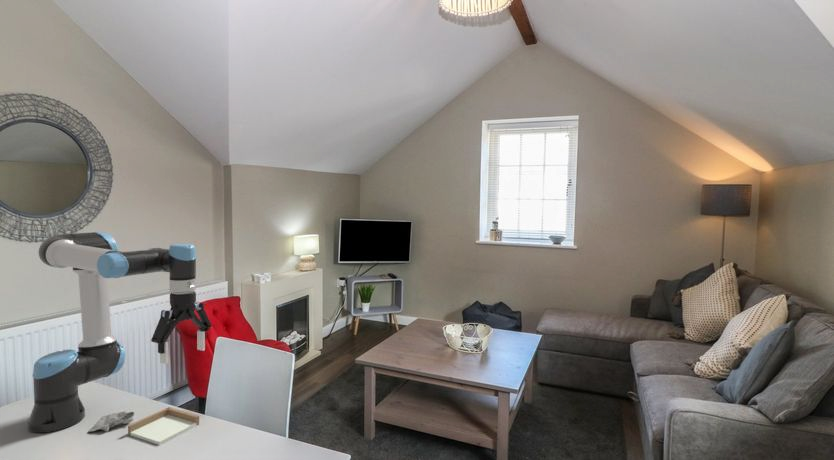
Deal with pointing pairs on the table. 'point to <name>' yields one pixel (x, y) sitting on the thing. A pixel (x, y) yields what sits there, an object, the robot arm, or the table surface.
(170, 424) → the corner
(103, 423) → the stone
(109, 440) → the table surface
